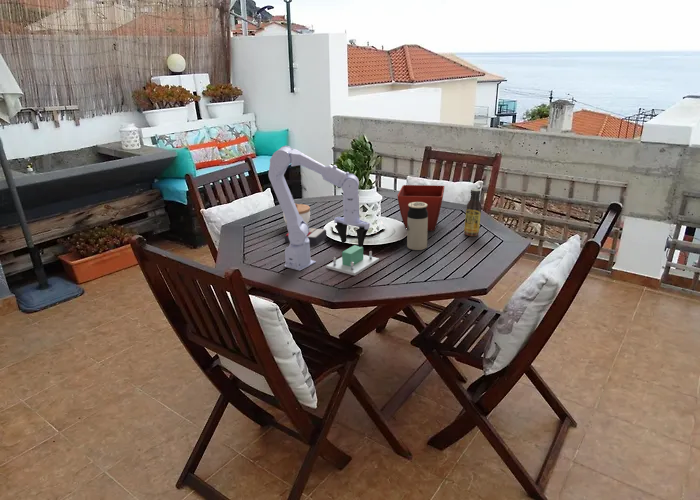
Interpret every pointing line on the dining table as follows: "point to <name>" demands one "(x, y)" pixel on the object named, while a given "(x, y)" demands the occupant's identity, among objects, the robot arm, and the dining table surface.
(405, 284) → the dining table surface
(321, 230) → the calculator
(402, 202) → the plant pot
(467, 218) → the sauce bottle
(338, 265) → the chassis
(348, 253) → the green block
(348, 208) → the robot arm
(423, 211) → the travel mug
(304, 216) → the lidded bowl
